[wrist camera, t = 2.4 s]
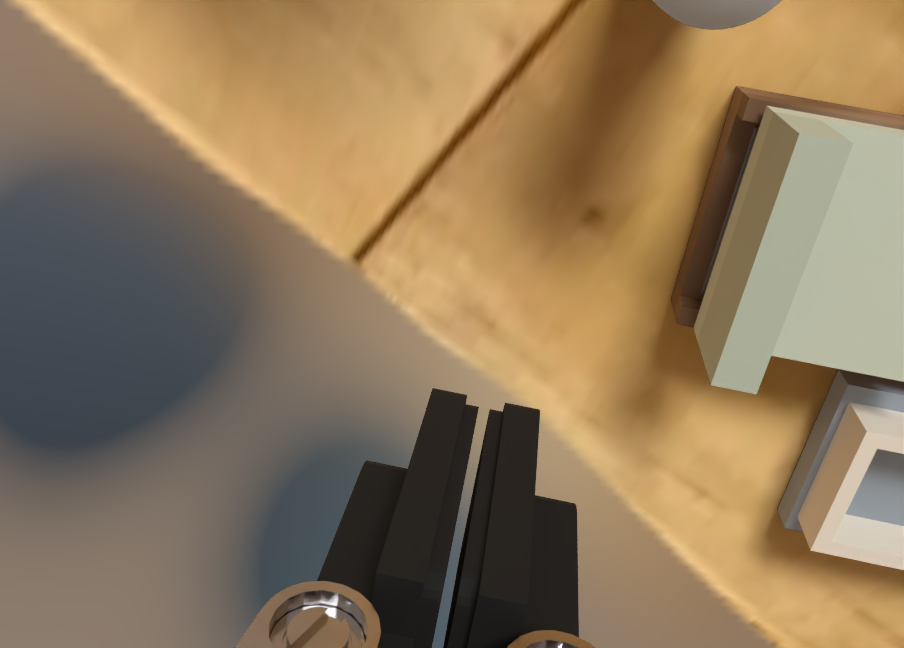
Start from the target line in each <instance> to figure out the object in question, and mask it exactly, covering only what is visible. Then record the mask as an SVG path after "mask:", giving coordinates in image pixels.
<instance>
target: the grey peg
mask: <svg viewBox="0 0 904 648" xmlns="http://www.w3.org/2000/svg"><path fill="white" fill-rule="evenodd" d="M652 1H653V2H654V3H655V4H656V5H657V6H658V7H659V8H660V9H662V10H663V11H664V12H665V13H666V14H668V15H669V16H670V17H672V18H674V19H675V20H677V21H679V22H681V23H683V24H686V25H688V26H692V27H696V28H700V29H709V30H716V29H727V28H733V27H736V26H740V25H743V24H746V23H748V22H750V21H753V20H755V19H757V18H758V17H760V16H762V15H764V14H765V13H767V12H768V11H769V10H771V9H772V8H773V7H775V6H776V5H777V4H778V3H779V2H780V1H781V0H652Z"/></svg>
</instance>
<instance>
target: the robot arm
mask: <svg viewBox="0 0 904 648" xmlns="http://www.w3.org/2000/svg"><path fill="white" fill-rule="evenodd" d="M466 399H467V395H464V394H459V393H454V392H448V391H444V390H439V389H434V388H433V389H432V392H431V396H430V399H429V402H428V405H427V408H426V412H425V415H424V418H423V421H422V425H421V428H420V431H419V435H418V438H417V441H416V444H415V448H414V451H413V454H412V457H411V460H410V464H409V467H408V469H405V468H401V467H396V466H391V465H386V464H381V463H376V462H371V461H366V462H365V463H364V465H363V467H362V469H361V472H360V474H359V477H358V479H357V482H356V484H355V487H354V489H353V492H352V494H351V497H350V499H349V502H348V504H347V507H346V509H345V512H344V515H343V517H342V520H341V522H340V525H339V527H338V530H337V532H336V535H335V537H334V540H333V542H332V545H331V547H330V550H329V552H328V555H327V557H326V560H325V563H324V565H323V567H322V570H321V573H320V575H319V577H318V580H317V581H312V582H311V581H309V582H304V583H300V584H297V585H293V586H290V587H288V588H286V589H284V590H283V591H281V592H279V593H277V594H276V595H274V596H273V597H272V598H271V599H270V600H269V601H268V602H267V604H265V606H264V607H263V608H262V609H261V611H260V612H259V614H258V615H257V616H256V618H255V619H254V621H253V622H252V624H251V625H250V627H249V628H248V630H247V631H246V632H245V634H244V635H243V637H242V638H241V640H240V641H239V643H238V644H237V646H236V647H235V648H432V642H433V638H434V633H435V628H436V623H437V618H438V613H439V608H440V602H441V597H442V592H443V587H444V582H445V577H446V572H447V566H448V562H449V557H450V551H451V546H452V541H453V536H454V531H455V525H456V521H457V515H458V510H459V505H460V500H461V495H462V490H463V485H464V479H465V474H466V469H467V464H468V459H469V454H470V449H471V444H472V439H473V434H474V429H475V423H476V418H477V413H478V408H479V407H476V406H471V405H466ZM539 419H540V410H538V409H533V408H528V407H523V406H519V405H514V404H509V403H505V405H504V409H503V412H501V411H496V410H491V409H490V411H489V415H488V420H487V425H486V430H485V435H484V440H483V445H482V450H481V455H480V460H479V464H478V469H477V474H476V479H475V484H474V489H473V494H472V498H471V503H470V508H469V513H468V518H467V523H466V528H465V533H464V537H463V542H462V547H461V553H460V558H459V563H458V569H457V574H456V580H455V585H454V591H453V597H452V602H451V608H450V614H449V619H448V624H447V631H446V636H445V642H444V647H443V648H595V647H594V646H593V645H591V644H590V643H589V642H587V641H585V640H583V639H580V638H579V629H578V628H579V627H578V626H579V625H578V558H577V557H578V554H577V509H576V505H575V504H574V503H569V502H565V501H559V500H555V499H550V498H545V497H540V496H535V482H536V467H537V450H538V433H539Z"/></svg>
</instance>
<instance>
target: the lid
mask: <svg viewBox="0 0 904 648" xmlns="http://www.w3.org/2000/svg"><path fill="white" fill-rule="evenodd" d="M694 332H695V335H696V338H697V342H698V345H699V348H700V351H701V355H702V358H703V361H704V365H705V368H706V371H707V374H708V378H709V381H710V384H711V385H712V386H717V387H722V388H727V389H732V390H737V391H742V392H747V393H752V394H757V392H758V389H759V387H760V384H761V382H762V379H763V376H764V374H765V371H766V369H767V366H768V363H769V361H770V358H771V356H776V357H781V358H786V359H791V360H796V361H801V362H806V363H811V364H816V365H821V366H826V367H831V368H836V369H841V370H846V371H852V372H857V373H862V374H867V375H872V376H877V377H882V378H887V379H892V380H897V381H902V382H904V130H901V129H895V128H889V127H884V126H878V125H873V124H867V123H861V122H856V121H850V120H845V119H839V118H833V117H828V116H822V115H817V114H811V113H805V112H800V111H794V110H789V109H783V108H777V107H772V106H766V108H765V111H764V114H763V117H762V121H761V124H760V127H759V130H758V133H757V136H756V139H755V142H754V145H753V148H752V151H751V154H750V157H749V160H748V163H747V166H746V169H745V172H744V175H743V178H742V182H741V185H740V188H739V191H738V194H737V197H736V200H735V203H734V206H733V209H732V212H731V215H730V218H729V221H728V224H727V227H726V230H725V233H724V236H723V239H722V243H721V246H720V249H719V252H718V255H717V258H716V261H715V264H714V267H713V270H712V273H711V276H710V279H709V282H708V285H707V288H706V291H705V294H704V297H703V300H702V304H701V307H700V310H699V313H698V316H697V319H696V322H695V325H694Z"/></svg>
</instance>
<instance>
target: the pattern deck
mask: <svg viewBox="0 0 904 648" xmlns="http://www.w3.org/2000/svg"><path fill="white" fill-rule="evenodd" d="M766 106H772V107H777V108H783V109H789V110H794V111H800V112H805V113H811V114H817V115H822V116H828V117H833V118H839V119H845V120H850V121H856V122H861V123H867V124H873V125H878V126H884V127H889V128H895V129H901V130H904V116H902V115H896V114H891V113H885V112H879V111H874V110H868V109H862V108H857V107H851V106H846V105H840V104H834V103H829V102H823V101H817V100H812V99H806V98H800V97H795V96H789V95H784V94H778V93H772V92H767V91H761V90H755V89H750V88H744V87H739V86H736V89H735V92H734V95H733V99H732V102H731V105H730V108H729V112H728V115H727V118H726V121H725V125H724V128H723V131H722V134H721V138H720V141H719V144H718V147H717V151H716V154H715V157H714V160H713V164H712V167H711V170H710V173H709V177H708V180H707V183H706V187H705V190H704V193H703V196H702V200H701V203H700V206H699V209H698V213H697V216H696V219H695V222H694V226H693V229H692V232H691V235H690V239H689V242H688V245H687V248H686V252H685V255H684V258H683V261H682V265H681V268H680V271H679V274H678V278H677V281H676V284H675V287H674V291H673V294H672V297H671V302H672V305H673V309H674V313H675V317H676V320H677V324H679V325H684V326H689V327H694V325H695V322H696V319H697V316H698V313H699V310H700V307H701V304H702V300H703V297H704V294H705V291H706V288H707V285H708V282H709V279H710V276H711V273H712V270H713V267H714V264H715V261H716V258H717V255H718V252H719V249H720V246H721V243H722V239H723V236H724V233H725V230H726V227H727V224H728V221H729V218H730V215H731V212H732V209H733V206H734V203H735V200H736V197H737V194H738V191H739V188H740V185H741V182H742V178H743V175H744V172H745V169H746V166H747V163H748V160H749V157H750V154H751V151H752V148H753V145H754V142H755V139H756V136H757V133H758V130H759V127H760V124H761V121H762V117H763V114H764V111H765V108H766Z"/></svg>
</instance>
